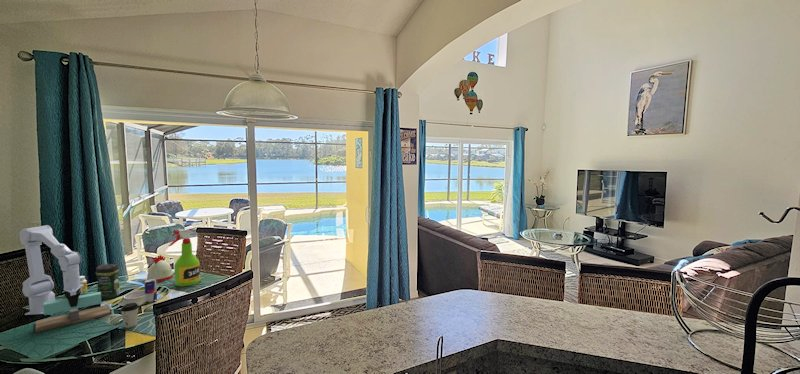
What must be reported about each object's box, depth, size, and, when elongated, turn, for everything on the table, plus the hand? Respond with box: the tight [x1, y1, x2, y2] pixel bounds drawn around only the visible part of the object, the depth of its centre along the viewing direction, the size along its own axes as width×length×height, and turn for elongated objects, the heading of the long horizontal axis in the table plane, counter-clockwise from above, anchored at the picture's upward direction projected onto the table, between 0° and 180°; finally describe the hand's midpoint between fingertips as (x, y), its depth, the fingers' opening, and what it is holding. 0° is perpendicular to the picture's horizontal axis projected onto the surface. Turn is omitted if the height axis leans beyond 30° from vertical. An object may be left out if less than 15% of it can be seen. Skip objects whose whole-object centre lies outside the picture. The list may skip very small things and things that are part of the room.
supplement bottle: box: [79, 275, 88, 296], centre depth 194 cm, size 5×5×10 cm
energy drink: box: [143, 278, 158, 303], centre depth 186 cm, size 5×5×12 cm
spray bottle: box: [168, 229, 201, 287], centre depth 210 cm, size 14×18×35 cm
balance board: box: [34, 304, 112, 333], centre depth 166 cm, size 12×26×4 cm, turn 136°
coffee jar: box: [95, 263, 121, 300], centre depth 190 cm, size 10×8×19 cm
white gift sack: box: [146, 254, 174, 283], centre depth 219 cm, size 14×14×15 cm
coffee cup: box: [119, 302, 140, 329], centre depth 160 cm, size 7×7×10 cm
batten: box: [43, 291, 102, 316], centre depth 165 cm, size 20×4×5 cm, turn 131°
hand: (73, 305), depth 165 cm, fingers closed on batten, 4 cm apart
